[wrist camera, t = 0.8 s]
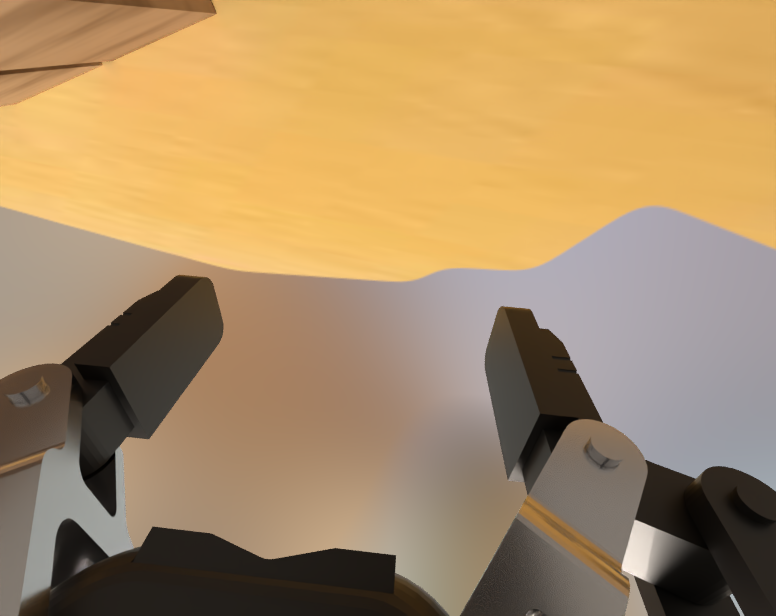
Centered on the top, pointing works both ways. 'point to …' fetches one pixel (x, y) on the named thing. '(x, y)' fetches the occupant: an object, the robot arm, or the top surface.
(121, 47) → the brown stepped block
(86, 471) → the robot arm
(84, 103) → the top surface
